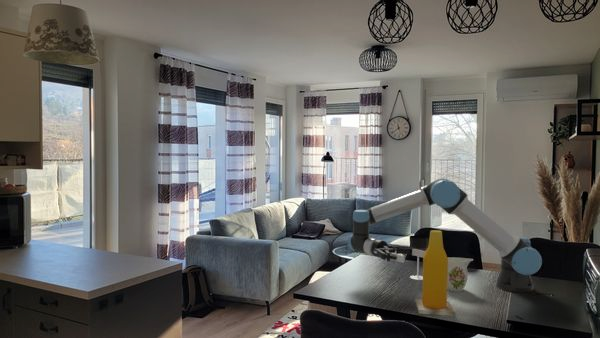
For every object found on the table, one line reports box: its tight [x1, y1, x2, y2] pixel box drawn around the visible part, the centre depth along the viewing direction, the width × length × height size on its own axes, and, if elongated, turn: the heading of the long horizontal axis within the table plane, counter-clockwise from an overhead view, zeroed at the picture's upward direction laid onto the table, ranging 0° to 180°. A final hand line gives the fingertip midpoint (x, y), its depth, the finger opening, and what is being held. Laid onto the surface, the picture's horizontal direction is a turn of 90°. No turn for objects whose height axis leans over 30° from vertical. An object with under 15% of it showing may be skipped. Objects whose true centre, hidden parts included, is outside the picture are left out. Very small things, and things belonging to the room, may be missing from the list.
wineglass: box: [409, 235, 429, 281], centre depth 211 cm, size 8×9×20 cm
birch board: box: [415, 298, 456, 317], centre depth 167 cm, size 13×12×2 cm
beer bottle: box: [421, 229, 448, 309], centre depth 167 cm, size 9×9×29 cm
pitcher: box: [447, 256, 474, 292], centre depth 193 cm, size 11×18×14 cm, turn 86°
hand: (414, 256), depth 175 cm, fingers open, 13 cm apart
